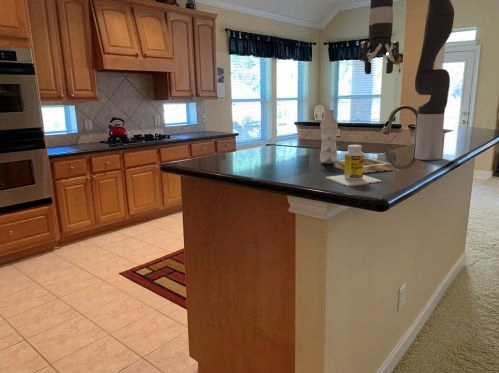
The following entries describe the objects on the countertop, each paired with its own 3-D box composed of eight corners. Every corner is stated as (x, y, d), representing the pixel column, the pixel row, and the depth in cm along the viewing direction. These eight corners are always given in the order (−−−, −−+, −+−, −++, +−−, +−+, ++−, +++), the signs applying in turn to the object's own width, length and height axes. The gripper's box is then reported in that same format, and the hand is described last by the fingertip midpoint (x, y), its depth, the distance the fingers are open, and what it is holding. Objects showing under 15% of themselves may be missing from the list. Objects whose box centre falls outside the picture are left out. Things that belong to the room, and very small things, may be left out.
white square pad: (358, 174, 127) (358, 173, 127) (381, 182, 116) (381, 180, 116) (325, 178, 123) (325, 176, 123) (347, 186, 112) (347, 184, 112)
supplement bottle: (349, 181, 116) (350, 147, 114) (341, 177, 122) (341, 145, 119) (366, 179, 118) (367, 146, 115) (357, 176, 123) (358, 143, 120)
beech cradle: (366, 163, 145) (366, 157, 145) (391, 169, 132) (391, 163, 132) (333, 167, 141) (333, 161, 140) (356, 174, 128) (356, 167, 127)
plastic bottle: (340, 162, 148) (341, 109, 143) (331, 165, 143) (332, 110, 138) (326, 161, 152) (326, 109, 148) (316, 164, 148) (316, 110, 143)
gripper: (390, 25, 135) (388, 74, 139) (355, 24, 130) (354, 74, 134) (406, 21, 128) (403, 72, 132) (369, 20, 123) (367, 73, 127)
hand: (378, 73), depth 133 cm, fingers open, 8 cm apart
